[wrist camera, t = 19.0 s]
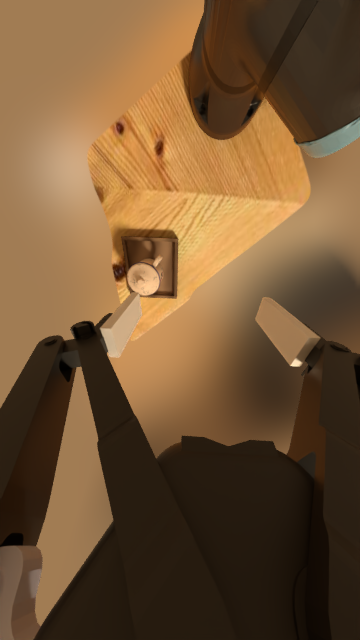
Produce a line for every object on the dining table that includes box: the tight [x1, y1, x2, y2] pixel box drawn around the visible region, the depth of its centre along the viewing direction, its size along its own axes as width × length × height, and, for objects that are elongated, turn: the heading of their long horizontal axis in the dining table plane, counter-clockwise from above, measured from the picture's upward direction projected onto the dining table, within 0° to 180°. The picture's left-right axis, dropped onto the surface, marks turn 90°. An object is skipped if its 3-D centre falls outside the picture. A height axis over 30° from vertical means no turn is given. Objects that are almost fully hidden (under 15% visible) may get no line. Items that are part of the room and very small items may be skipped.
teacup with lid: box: [127, 255, 163, 295], centre depth 41 cm, size 12×9×12 cm
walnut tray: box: [121, 237, 178, 299], centre depth 46 cm, size 16×18×2 cm
